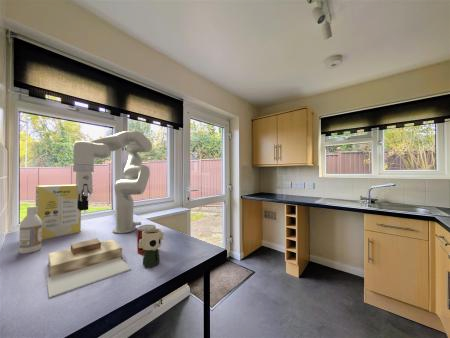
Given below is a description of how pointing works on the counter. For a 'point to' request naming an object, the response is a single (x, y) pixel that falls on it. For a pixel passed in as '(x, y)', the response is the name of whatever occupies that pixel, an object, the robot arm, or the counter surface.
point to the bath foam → (30, 232)
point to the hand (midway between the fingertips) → (82, 209)
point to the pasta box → (58, 210)
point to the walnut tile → (85, 246)
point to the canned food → (140, 230)
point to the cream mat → (85, 276)
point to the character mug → (151, 246)
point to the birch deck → (82, 258)
